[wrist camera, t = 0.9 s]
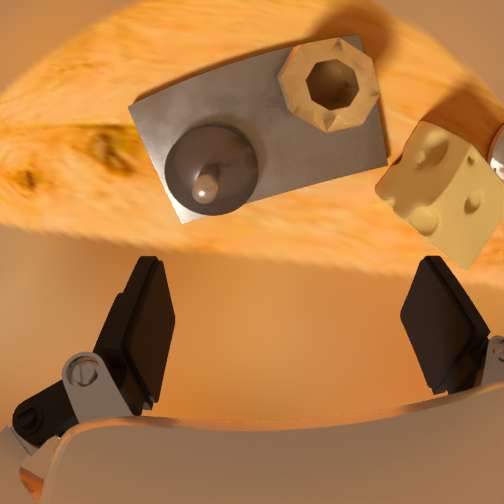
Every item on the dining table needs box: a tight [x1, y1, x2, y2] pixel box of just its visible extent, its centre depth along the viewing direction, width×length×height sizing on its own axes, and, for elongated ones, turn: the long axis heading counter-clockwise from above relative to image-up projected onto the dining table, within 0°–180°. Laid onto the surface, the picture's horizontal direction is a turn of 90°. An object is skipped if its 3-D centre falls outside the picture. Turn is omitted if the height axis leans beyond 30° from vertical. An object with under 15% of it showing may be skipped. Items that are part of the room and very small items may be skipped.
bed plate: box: [128, 35, 388, 224], centre depth 27 cm, size 23×14×1 cm, turn 108°
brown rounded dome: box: [306, 61, 346, 105], centre depth 23 cm, size 6×6×4 cm
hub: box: [164, 125, 258, 216], centre depth 27 cm, size 9×9×7 cm
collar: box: [277, 37, 381, 133], centre depth 20 cm, size 7×7×4 cm
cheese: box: [374, 120, 504, 271], centre depth 26 cm, size 10×11×10 cm
